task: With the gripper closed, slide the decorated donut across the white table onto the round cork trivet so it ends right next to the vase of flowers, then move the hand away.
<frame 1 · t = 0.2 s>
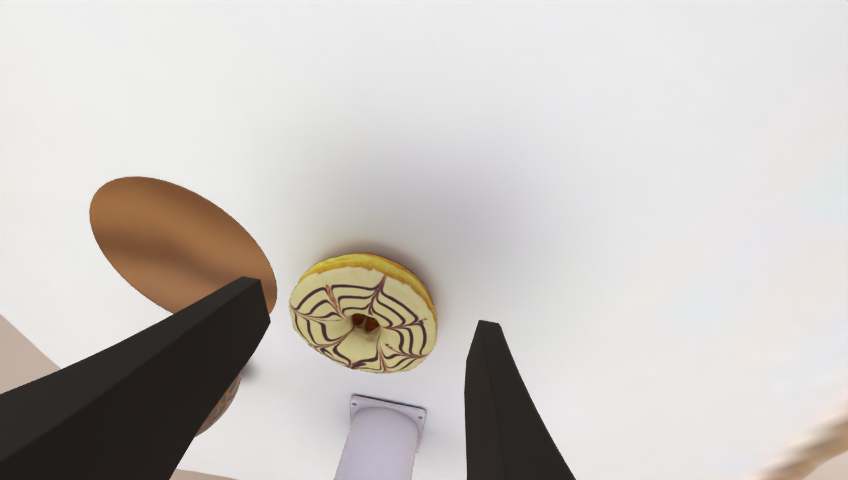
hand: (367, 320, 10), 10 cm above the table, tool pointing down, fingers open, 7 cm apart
trivet: (188, 263, 25), on the table
vase: (221, 356, 31), on the table
decorated donut: (373, 298, 24), on the table
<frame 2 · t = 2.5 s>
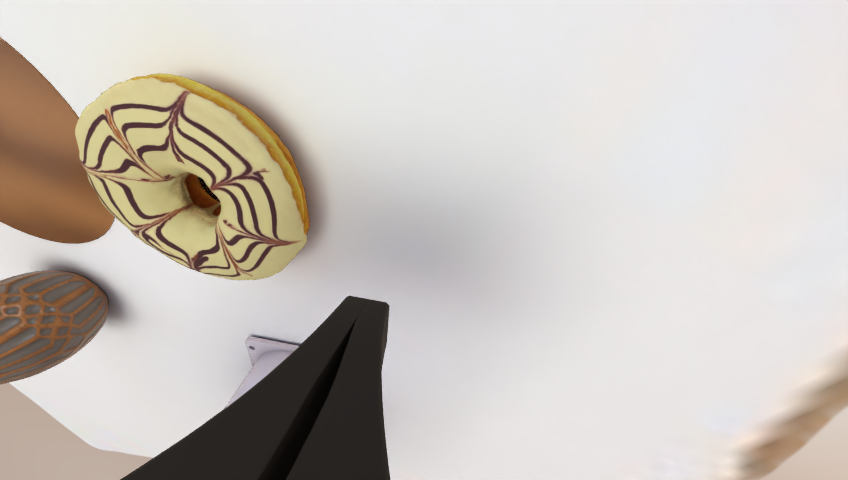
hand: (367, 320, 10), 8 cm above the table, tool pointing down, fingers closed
vase: (86, 288, 25), on the table
decorated donut: (233, 178, 18), on the table
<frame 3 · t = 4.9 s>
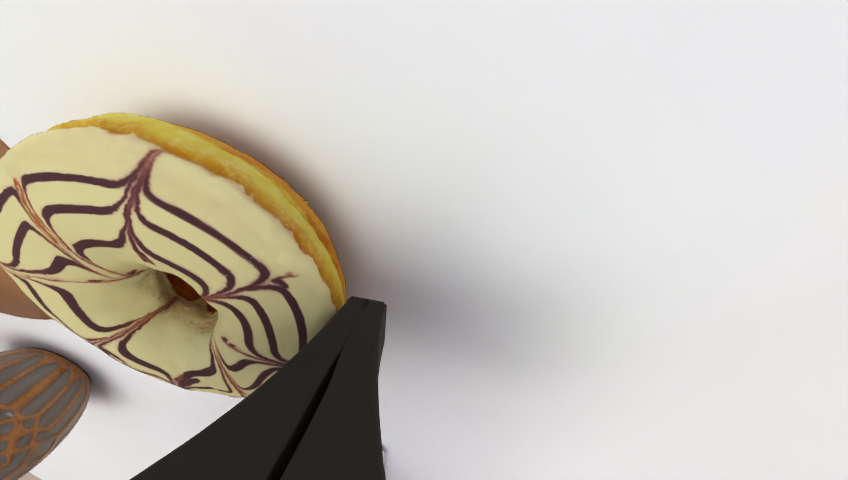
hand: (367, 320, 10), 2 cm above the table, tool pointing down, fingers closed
vase: (62, 364, 20), on the table
decorated donut: (237, 249, 12), on the table, touching gripper
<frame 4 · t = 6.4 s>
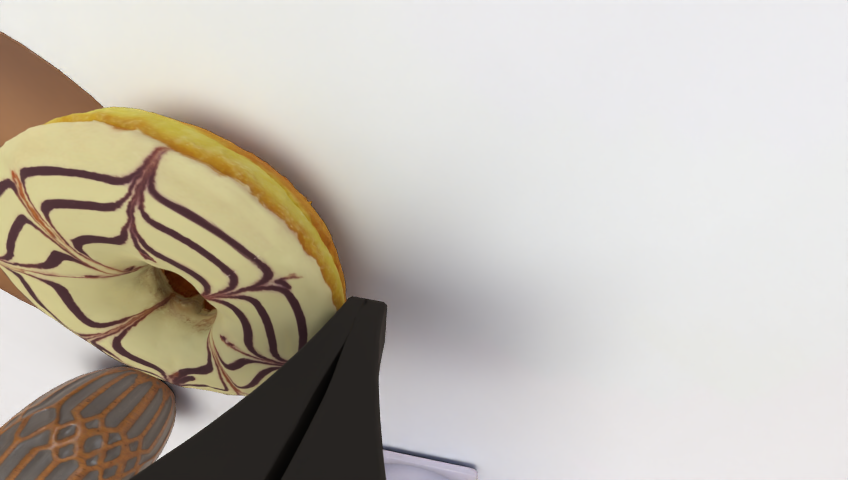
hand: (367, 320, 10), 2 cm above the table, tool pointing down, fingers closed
trivet: (40, 215, 13), on the table
vase: (147, 382, 20), on the table
decorated donut: (235, 246, 12), on the table, touching gripper
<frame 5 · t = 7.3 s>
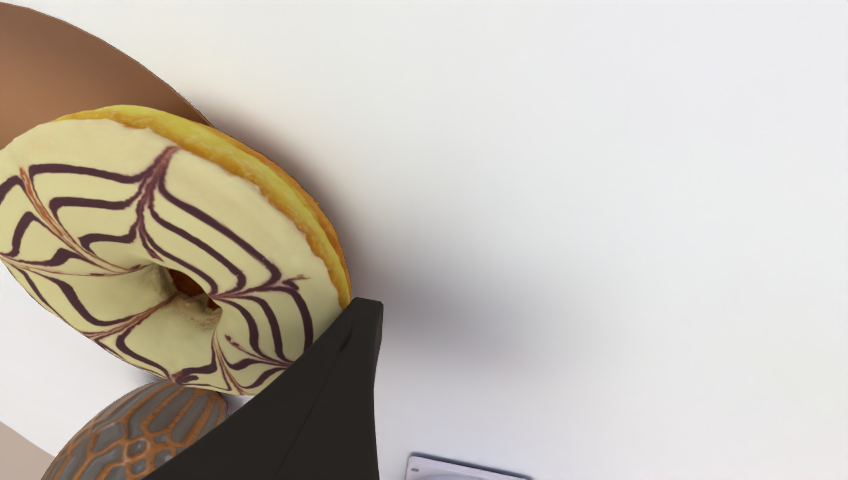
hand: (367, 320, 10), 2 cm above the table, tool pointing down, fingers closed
trivet: (119, 229, 12), on the table
vase: (199, 393, 19), on the table
decorated donut: (240, 245, 12), on the table, touching gripper
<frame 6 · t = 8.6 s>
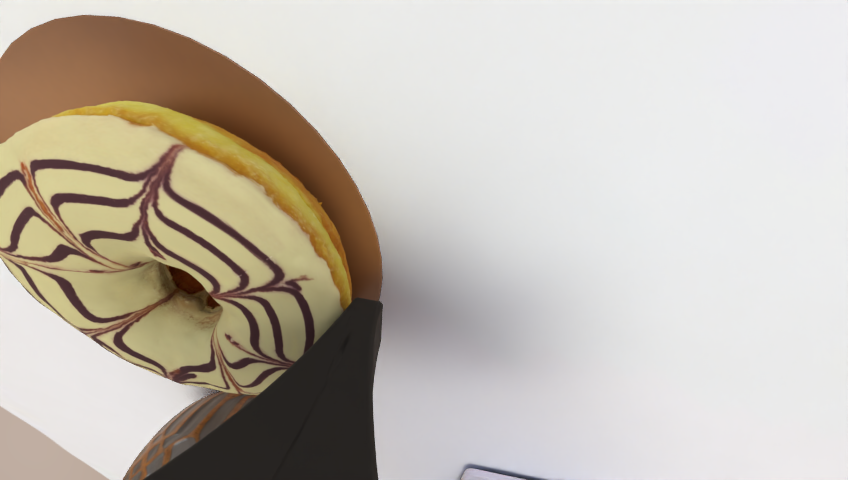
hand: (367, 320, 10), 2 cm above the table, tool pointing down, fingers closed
trivet: (203, 244, 12), on the table
vase: (252, 403, 19), on the table
decorated donut: (240, 244, 12), resting on trivet, touching gripper
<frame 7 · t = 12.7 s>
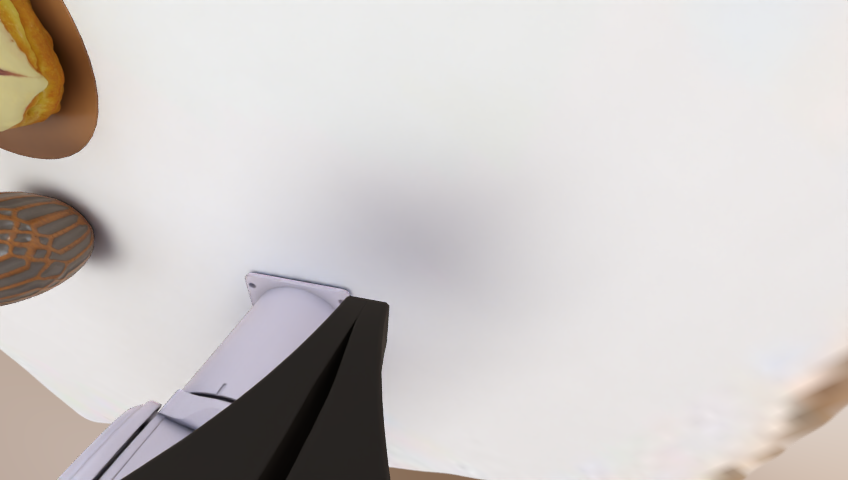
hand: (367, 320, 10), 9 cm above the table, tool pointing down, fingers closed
vase: (70, 220, 23), on the table
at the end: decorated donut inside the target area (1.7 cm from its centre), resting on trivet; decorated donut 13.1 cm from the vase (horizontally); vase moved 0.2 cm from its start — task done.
